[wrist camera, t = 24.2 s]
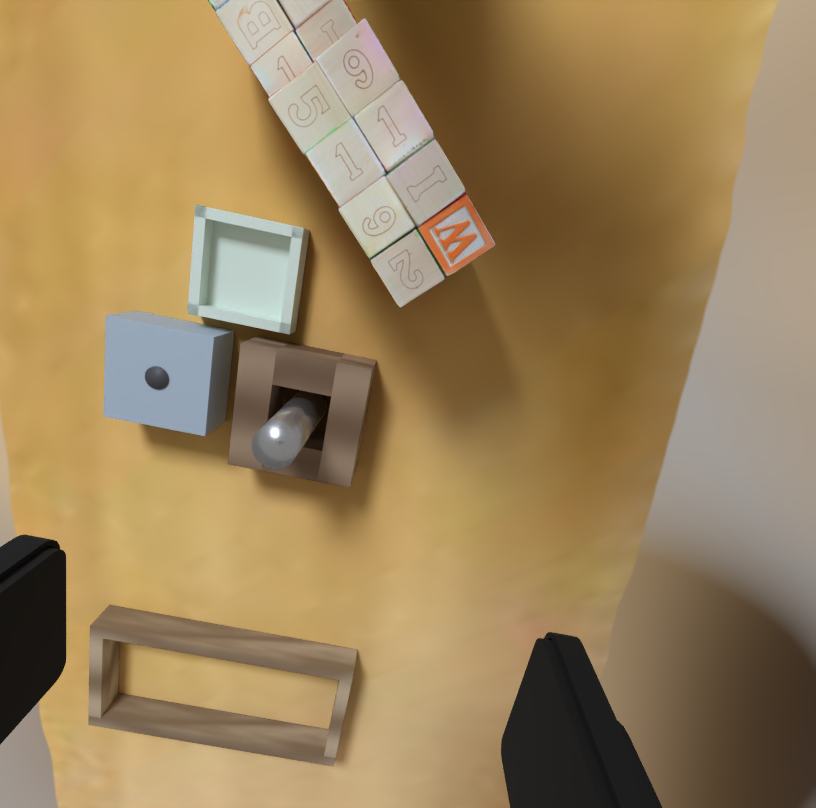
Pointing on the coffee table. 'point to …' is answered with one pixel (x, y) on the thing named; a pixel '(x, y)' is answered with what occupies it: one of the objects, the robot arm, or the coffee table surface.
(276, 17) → the stack of blocks
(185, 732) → the rectangular wooden corral frame
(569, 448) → the coffee table surface
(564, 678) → the robot arm
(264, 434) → the cylinder
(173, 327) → the block
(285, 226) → the tray
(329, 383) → the square-holed wooden block
